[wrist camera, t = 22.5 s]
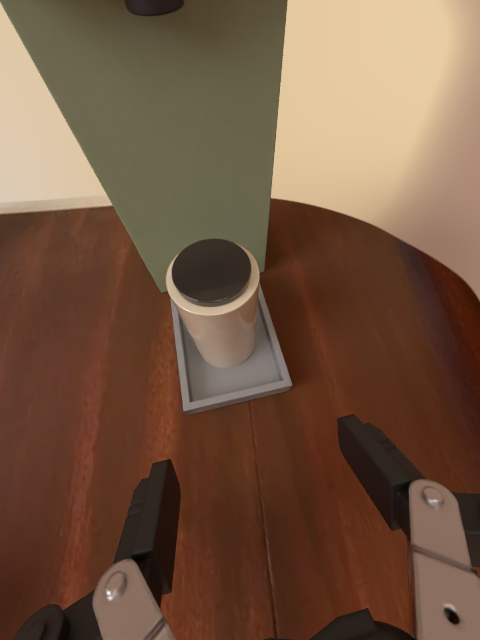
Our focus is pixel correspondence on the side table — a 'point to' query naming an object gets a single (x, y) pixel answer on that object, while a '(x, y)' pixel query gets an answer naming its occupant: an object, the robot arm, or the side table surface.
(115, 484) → the side table surface
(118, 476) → the side table surface
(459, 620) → the robot arm
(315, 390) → the side table surface
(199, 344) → the cream travel cup
